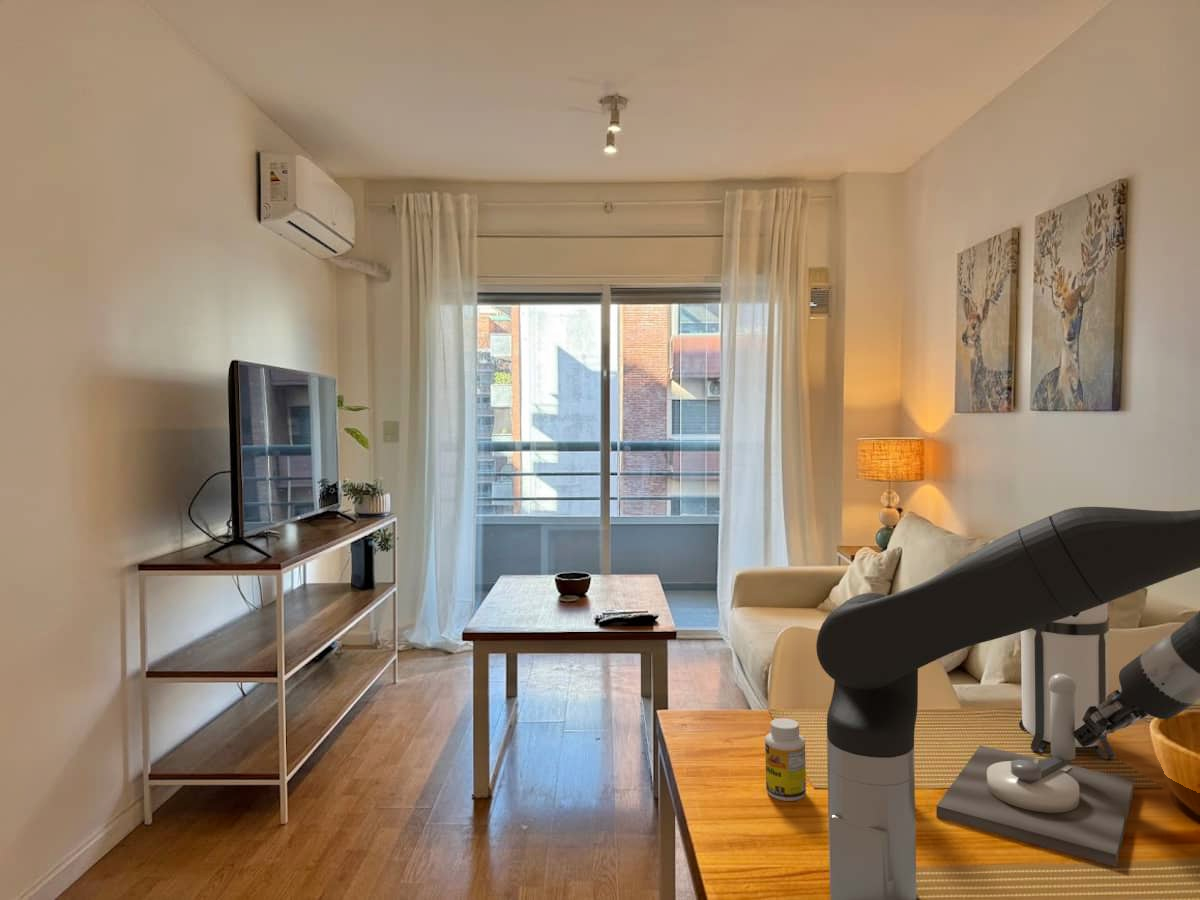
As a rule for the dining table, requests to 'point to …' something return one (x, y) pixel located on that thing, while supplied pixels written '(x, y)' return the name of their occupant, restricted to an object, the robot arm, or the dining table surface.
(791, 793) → the supplement bottle
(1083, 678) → the coffee press
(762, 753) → the dining table surface
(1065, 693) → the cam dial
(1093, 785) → the dial board
